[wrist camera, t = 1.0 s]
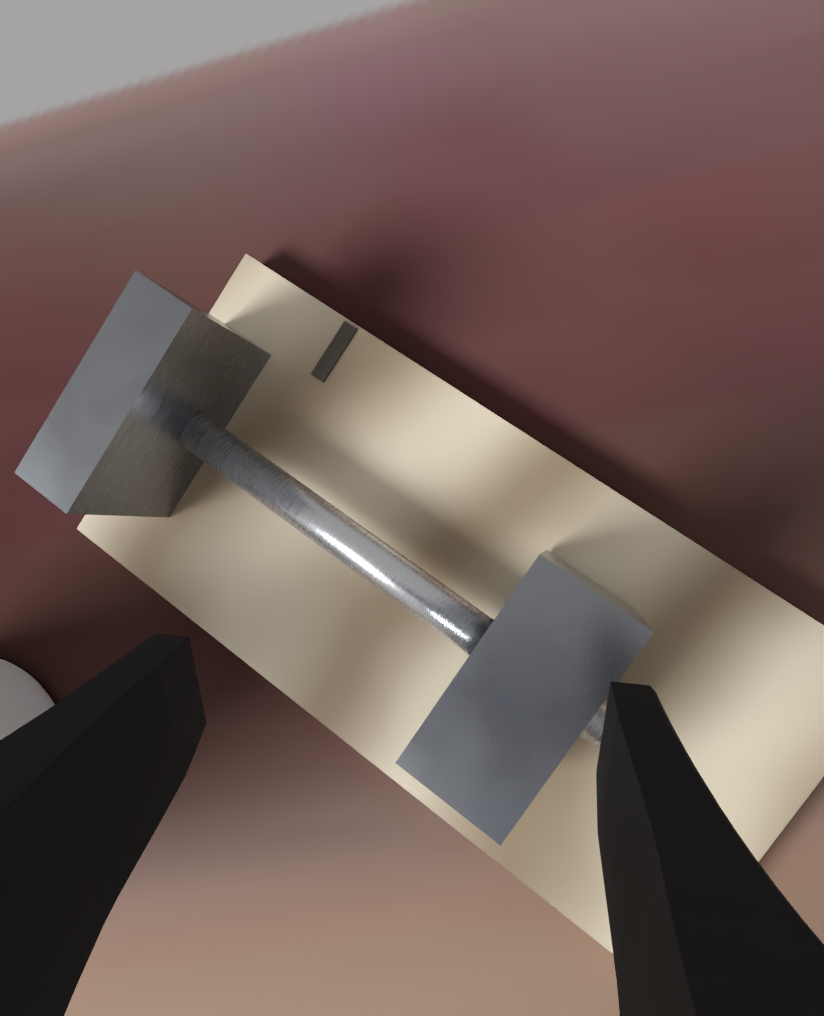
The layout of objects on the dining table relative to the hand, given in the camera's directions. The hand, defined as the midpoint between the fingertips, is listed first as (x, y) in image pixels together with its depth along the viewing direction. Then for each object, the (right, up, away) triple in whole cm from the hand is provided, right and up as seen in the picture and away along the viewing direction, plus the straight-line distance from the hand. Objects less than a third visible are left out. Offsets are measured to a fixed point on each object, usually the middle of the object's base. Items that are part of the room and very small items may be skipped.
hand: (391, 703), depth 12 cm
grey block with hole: (+4, -1, +9) cm, 10 cm away
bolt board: (+1, +1, +11) cm, 11 cm away
